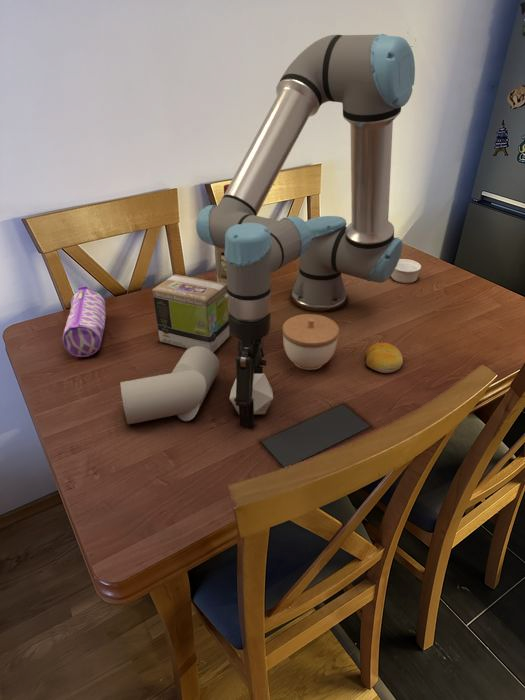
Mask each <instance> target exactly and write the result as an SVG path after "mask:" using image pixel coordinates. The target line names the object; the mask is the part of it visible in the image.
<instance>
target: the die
mask: <svg viewBox="0 0 525 700" xmlns="http://www.w3.org/2000/svg"><path fill="white" fill-rule="evenodd" d="M236 378H237V376H236V377H235V380H234V382H233V384H232V387H231V389H230V394H229V401H230V402H231V404H232V406H233V407H234V409H235V410H236V412H237V414H238V415H239V406H236V402H234V399H235V398H236ZM273 392H274V391H273V388H272V386H271V384H270V381H269V380H268V378H267V376H266V374H265V373H263V374H254V378H253V392H252V399H254V415H266V413H267V411H268V409H269V407H270V405H271V403H272V401H273V400H274V393H273Z"/></svg>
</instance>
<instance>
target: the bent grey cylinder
mask: <svg viewBox="0 0 525 700" xmlns="http://www.w3.org/2000/svg"><path fill="white" fill-rule="evenodd" d="M220 367H221V365H220V360H219V359H218V357H217V355H216V354H215V353H214V352H211V351H210V350H208V349H206V348H204V347H199V346H195V347H191V348H189V349H187V348H186V350H185V351H184V353H183V354H182V356H181V357H180V359H179V360H178V362H177V363H176V365H175V367H174V368H173V370H172V372H171V373H164V374H159V375H154V376H147V377H142V378H137V379H131V380H126V381H121V382H120V393H121V398H122V399H121V400H122V404H123V405H122V406H123V410H124V415H125V419H126V420H125V421H126V423H127V425H133V424H138V423H143V422H149V421H153V420H158V419H164V418H167V417H168V418H169V417H172V416H173V417H175V416H177V418H178V419H180V420H181V421H183V422H188V421H191V420H193V419H194V418H195V417H196V415H197V414H198V412H199V410H200V408H201V406H202V404H203V402H204V400H205V398H206V396H207V394H208V393H209V391H210V388H211V386H212V384H213V383H214V381H215V379H216V377H217V375H218V373H219V371H220Z"/></svg>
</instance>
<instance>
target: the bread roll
mask: <svg viewBox="0 0 525 700" xmlns="http://www.w3.org/2000/svg"><path fill="white" fill-rule="evenodd" d="M365 356H366V357H365V358H366V360H365V364H366V366H367V367H368V368H370V369H371V370H373V371H376V372H379V373H382V374H390V373H394V372H396V371H398V370H400V369H401V367H402V366H403V364H404V363H403V362H404V359H403V355H402V352H401V351H400V350H399V348H398V347H397V346H395V345H393V344H391V343H388V342H377V343H375V344H373V345H370V346H369V347H368V348H367V350H366V353H365Z"/></svg>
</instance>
